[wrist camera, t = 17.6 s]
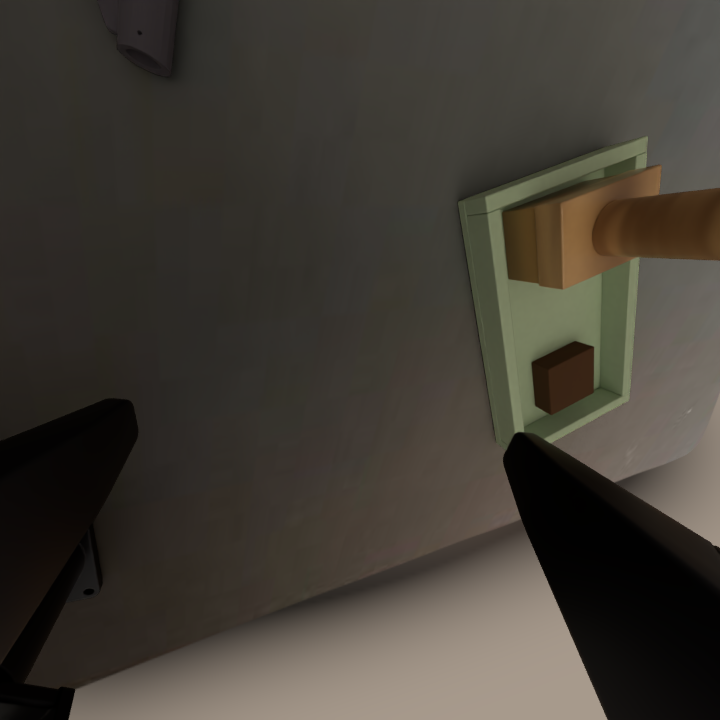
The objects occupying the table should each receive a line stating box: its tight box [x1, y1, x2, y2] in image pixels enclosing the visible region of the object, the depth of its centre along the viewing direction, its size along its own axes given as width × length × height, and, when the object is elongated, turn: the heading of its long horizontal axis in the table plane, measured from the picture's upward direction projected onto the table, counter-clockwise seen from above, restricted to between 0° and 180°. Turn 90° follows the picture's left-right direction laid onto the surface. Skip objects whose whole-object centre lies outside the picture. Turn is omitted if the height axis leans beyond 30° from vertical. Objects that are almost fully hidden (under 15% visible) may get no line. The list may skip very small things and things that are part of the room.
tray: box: [458, 136, 648, 450], centre depth 21 cm, size 18×11×2 cm, turn 19°
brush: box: [502, 165, 720, 290], centre depth 14 cm, size 6×4×13 cm
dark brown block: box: [532, 341, 594, 415], centre depth 23 cm, size 4×4×2 cm
